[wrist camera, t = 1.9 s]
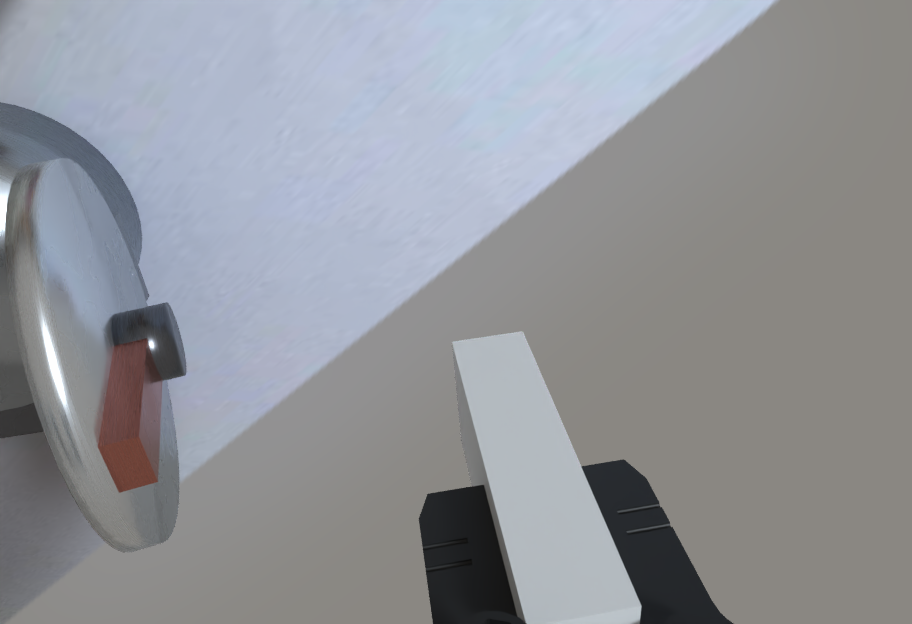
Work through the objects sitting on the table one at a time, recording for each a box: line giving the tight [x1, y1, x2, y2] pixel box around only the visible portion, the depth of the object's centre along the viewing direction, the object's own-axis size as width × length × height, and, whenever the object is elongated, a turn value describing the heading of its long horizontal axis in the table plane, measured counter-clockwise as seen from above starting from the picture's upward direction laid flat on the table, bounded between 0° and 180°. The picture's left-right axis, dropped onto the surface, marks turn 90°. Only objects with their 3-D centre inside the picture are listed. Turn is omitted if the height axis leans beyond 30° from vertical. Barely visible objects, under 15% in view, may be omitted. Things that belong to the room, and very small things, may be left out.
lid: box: [5, 158, 186, 552], centre depth 25 cm, size 15×14×3 cm
